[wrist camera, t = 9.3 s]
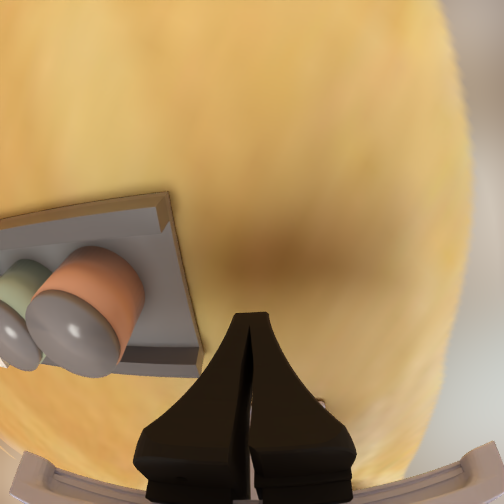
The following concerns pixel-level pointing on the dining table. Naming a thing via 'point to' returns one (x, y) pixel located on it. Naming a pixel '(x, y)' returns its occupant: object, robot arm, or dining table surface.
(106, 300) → the terracotta jar
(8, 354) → the green jar
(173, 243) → the lane
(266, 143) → the dining table surface
